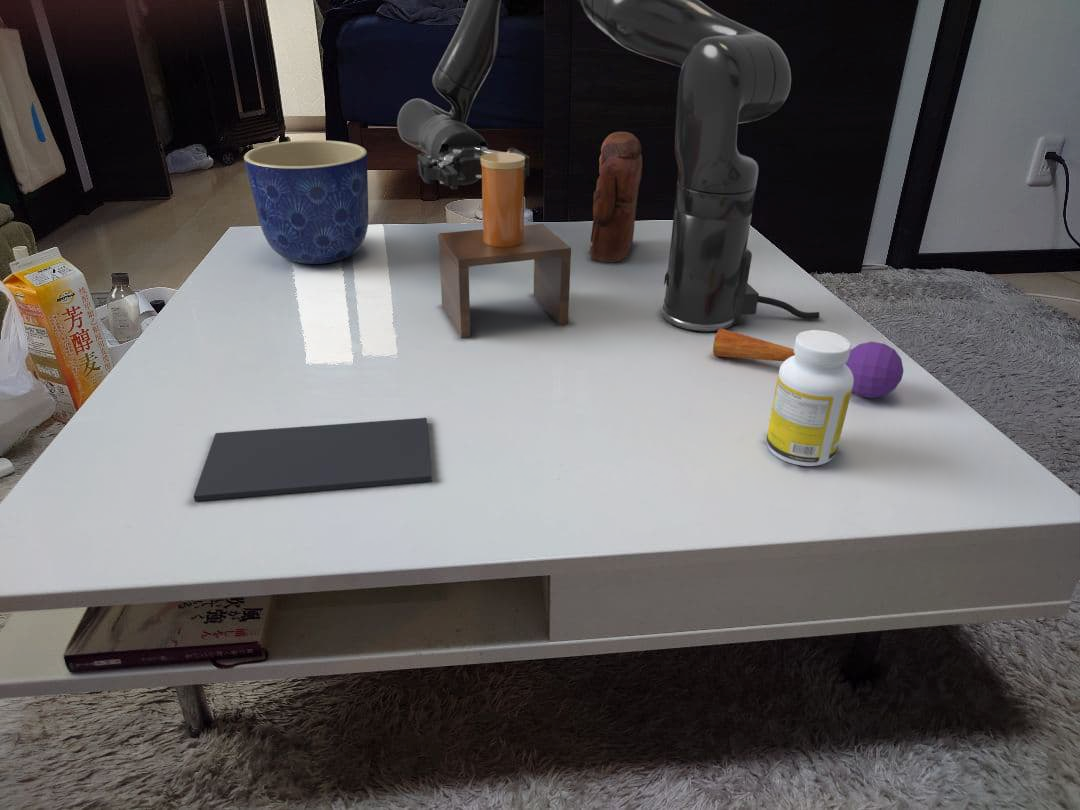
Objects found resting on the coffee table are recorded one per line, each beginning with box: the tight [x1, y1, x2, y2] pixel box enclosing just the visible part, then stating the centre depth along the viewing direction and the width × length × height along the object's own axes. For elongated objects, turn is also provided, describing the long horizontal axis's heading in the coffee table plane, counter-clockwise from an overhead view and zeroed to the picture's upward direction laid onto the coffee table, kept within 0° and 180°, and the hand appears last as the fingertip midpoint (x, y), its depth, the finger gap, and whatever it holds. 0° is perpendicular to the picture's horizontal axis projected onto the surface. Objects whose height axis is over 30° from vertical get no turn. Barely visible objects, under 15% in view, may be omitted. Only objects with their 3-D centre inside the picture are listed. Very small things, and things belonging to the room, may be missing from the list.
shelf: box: [438, 223, 572, 339], centre depth 97 cm, size 14×10×10 cm
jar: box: [481, 151, 525, 247], centre depth 92 cm, size 5×5×10 cm
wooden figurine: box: [589, 131, 643, 263], centre depth 117 cm, size 12×6×18 cm, turn 165°
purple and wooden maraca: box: [712, 328, 904, 399], centre depth 86 cm, size 6×6×20 cm
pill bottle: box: [765, 329, 854, 467], centre depth 71 cm, size 6×6×12 cm
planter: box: [243, 139, 370, 265], centre depth 114 cm, size 17×17×15 cm
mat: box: [193, 417, 433, 502], centre depth 71 cm, size 20×10×1 cm, turn 100°
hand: (488, 178), depth 97 cm, fingers open, 8 cm apart
